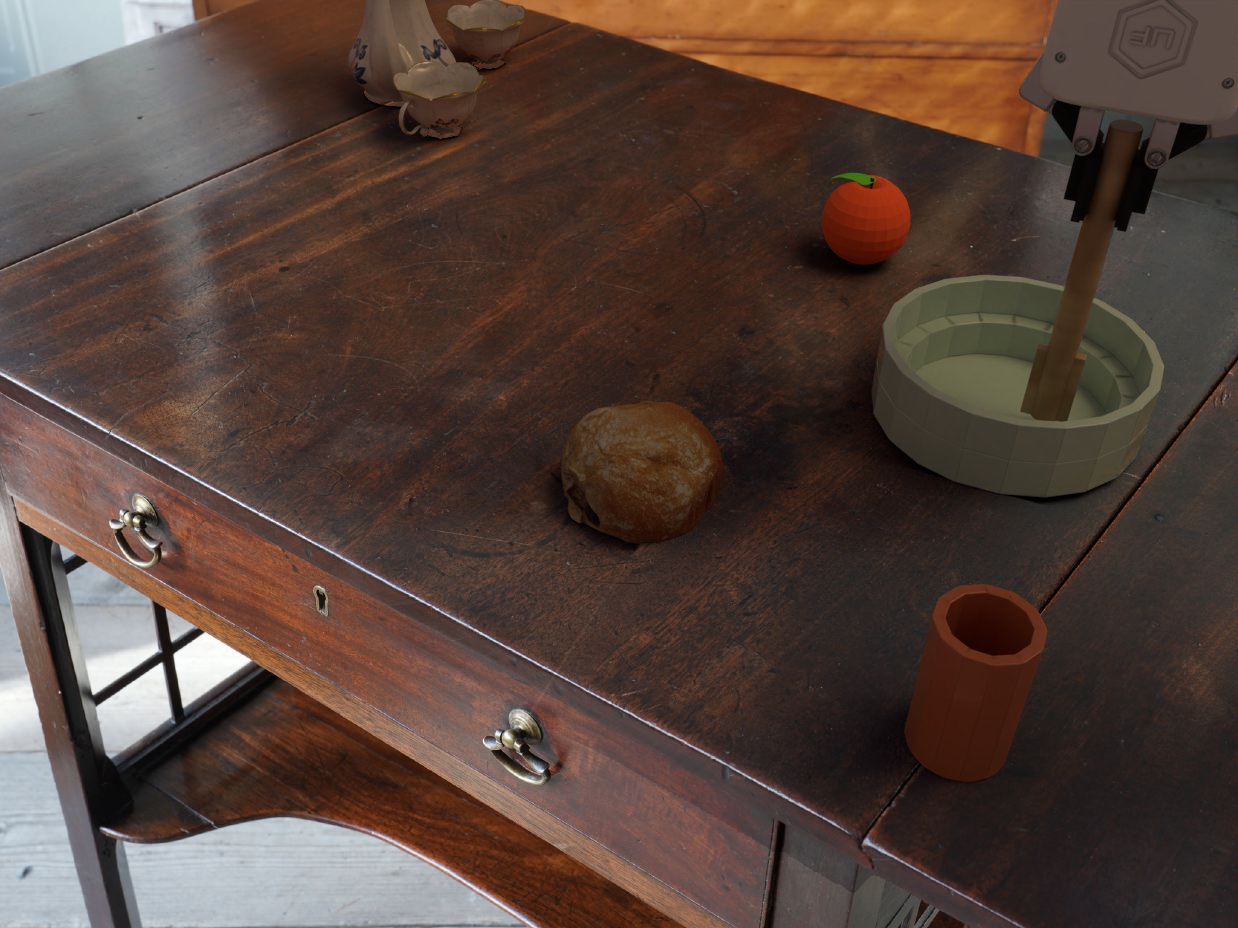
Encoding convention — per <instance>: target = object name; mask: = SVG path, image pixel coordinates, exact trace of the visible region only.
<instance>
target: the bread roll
mask: <svg viewBox="0 0 1238 928" xmlns="http://www.w3.org/2000/svg"><path fill="white" fill-rule="evenodd" d="M718 442H719V440H718V439H716V438H714V436H713V435H712V433H711V432H710V430H709V429H708V427H707V426H706V424H705V422H704V421H702V420H700V419H699V418H697V417H696V416H695V415H694V414H693V413H692V412H691V411H690V410H689V409H686V408H685V407H683V406H681V405H679V404H677V403H675V402H672V401H659V402H658V401H654V400H643V401H640V402H638V403H637V404H621V405H613V406H604V407H597V408H596V409H594V410H592V411H590V412H588V413H586V414H585V415H584V416H583V417H581V419H580V420H579V421H577V422H576V424H575V425H574V426H573V428H572V429H571V431H570V433H569V434H568V435H567V438H566V441H565V444H564V446H563V449H562V451H561V454H560V465H561V466H560V467H561V468H560V469H561V470H560V471H561V482H562V487H563V491H564V497H565V498H566V499H567V501H568V506H567V513H568V514H569V516H570V518H571V520H572V521H573V520H574V521H575V522H577V523H579V524H585V525H587V526H589V527H591V528H593V530H596V531H597V532H600V533H602V534H605V535H609V536H612V537H614V538H617V539H620V540H622V541H624V542H626V543H628V544H629V543H630V544H636V545H641V544H642V543H656V542H663V541H667V540H671V539H674V538H678V537H680V536H683V535H685V534H686V533H688V532H690V531H692V530H693V529H694V527H695V526H696V525H698V524H699V522H700V520H701V519H702V518H703V517H704V513H707V512H708V511H709V510H710V508H711V506H713V504H714V502H715V499H716V498H717V496H718V493H719V489H720V487H721V486H722V485H721V484H722V482H723V472H724V461H723V457H722V456H723V455H722V452H721V449H720V446H719V443H718Z"/></svg>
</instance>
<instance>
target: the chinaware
mask: <svg viewBox="0 0 1238 928" xmlns="http://www.w3.org/2000/svg"><path fill="white" fill-rule="evenodd" d="M526 13H527V11H526V9H525V7H524V6H523V5H520V4H513V5H507V4H504V3H502V2H501V1H499V0H478V1H476V2H474V3H473V4H471V5H465V4H461V3H459V4H453V5H450V7H449V8H447V10H446V17H444V21H445V25H446V26H447V27H450V29H451V31H452V34H453V37H454V40H455V42H456V44H457V45H458V47H459V48H460V50H461V51H462V52H463V53H464V54H466V55H467V56H468V57H470V58H471V59H472V60H473V59H474V60H479V62H481V64H483V63H485V64H493V63H496V62H497V61H498V60H499V59H501V60H502V58H505V57H506V56H507V55H509V54H510V53H511V52H512V51H513V49H514V48H515V46H516V45H517V42H518V40H519V37H520V33H521V28H522V25H523V23H524V22H525V20H526ZM347 65H348V67H349V69H350V71H352V76H353V79H354V81H355V82H356V84H357V85H358V86H359V87H360V88H362V89H363V91H364V90H366V92H367V93H368V94H369V95H371V96H373V97H375V98H378V99H381V100H386V101H393V102H402V101H404V105H403V106H402V107H401V108H400V109H399V113H398V124H399V128H400V131H401V132H402V133H404V134H405V135H408V136H413V135H414V134H416V133H417V132H418V130H419V129H420V130H419V134H420V136H422V137H428V136H427V135H428V134H429V130H428V128H430V129H432V130H434V131H436V133H440V135H443V134H444V133H449V132H450V133H455V130H454V129H456V128H455V127H457V126H462V124H463V123H465V122H466V121H467V120H468V119H469V118H470V117H471V115H472V113H473V111H474V110H475V107H476V105H477V100H478V96H479V91H480V89H481V88H482V87H483V86H485V85H486V83H487V79H486V77H485V75H484V74H482V75H481V74H480V72H479V70H478V68H476V67H475V66H473V64H471V62H466V61H465V62H462V61H458V62H457V60H456V58H455V55H454V54H453V53H452V51H451V50H450V48H449V46H448V44H447V42H446V41H445V39H444V38H443V36H442V35H441V34H440V32H439V31H438V29H437V28H436V27H435V24H434V22H433V20H432V18H431V15H430V12H429V9H428V6H427V3H426V0H365V7H364V13H363V19H362V24H361V28H360V30H359V33H358V35H357V37H356V39H355V40H354V43H353V45H352V46H351V49H350V51H349V54H348V58H347ZM406 111H407V112H408V114H409V115H410V116H411V118H412V119H413V120H414V121H415V122H417V124H419V125H417V126H415V127H414V128H413V129H412V130H411V131H408V130H407V129H406V127H405V114H406Z"/></svg>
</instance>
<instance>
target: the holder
mask: <svg viewBox="0 0 1238 928" xmlns="http://www.w3.org/2000/svg"><path fill="white" fill-rule="evenodd" d="M1048 633H1049V632H1048V628H1047V626H1046V624H1045V621H1044V620H1043V618H1042V616H1041V613H1040V612H1039V610H1038V609H1037V607H1036V606H1034V605H1033V604H1031V603H1030V602H1029V601H1028V600H1026V599H1025V598H1023V597H1022V596H1021V595H1019V594H1017V593H1016V592H1014V591H1012V590H1009V589H1005V588H1002V587H999V586H995V585H991V584H988V583H987V584H986V583H978V584H977V583H975V584H964V585H957V586H955V587H954V588H952V589H951V590H949V591H947V592H945V593H943V594H942V595H941V596H939V597H938V598H937V601H936V603H935V606H934V610H933V612H932V615H931V619H930V623H929V627H928V632H927V634H926V635H927V636H926V640H925V644H924V648H923V651H922V656H921V660H920V663H919V668H918V672H917V675H916V679H915V684H914V687H913V688H914V689H913V693H912V696H911V700H910V705H909V709H908V712H907V717H906V722H905V725H904V728H903V729H904V730H903V733H904V736H905V739H906V744H907V747H908V749H909V750H910V753H911V754H912V755H913V757H914V758H915V759H916V760H917V761H918V763H920V764H921V765H922V766H923V767H924V768H925V769H927V770H929V771H930V772H932V773H934V774H935V775H937V776H939V777H942V778H945V779H948V780H951V781H957V782H977V781H982V780H985V779H988V778H990V777H992V776H993V775H995V774H996V773H997V772H999V771H1000V769H1002V768H1003V767H1005V765H1006V763H1007V760H1008V757H1009V755H1010V750H1011V748H1012V744H1013V742H1014V739H1015V735H1016V733H1017V730H1018V727H1019V723H1020V721H1021V718H1022V715H1023V712H1024V710H1025V706H1026V703H1027V700H1028V696H1029V695H1030V691H1031V688H1032V686H1033V682H1034V680H1035V677H1036V674H1037V670H1038V668H1039V665H1040V662H1041V659H1042V655H1043V653H1044V649H1045V645H1046V641H1047V637H1048Z"/></svg>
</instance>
